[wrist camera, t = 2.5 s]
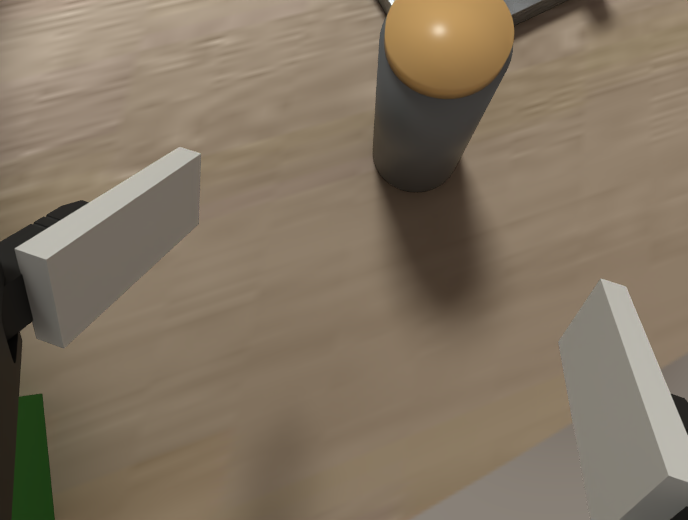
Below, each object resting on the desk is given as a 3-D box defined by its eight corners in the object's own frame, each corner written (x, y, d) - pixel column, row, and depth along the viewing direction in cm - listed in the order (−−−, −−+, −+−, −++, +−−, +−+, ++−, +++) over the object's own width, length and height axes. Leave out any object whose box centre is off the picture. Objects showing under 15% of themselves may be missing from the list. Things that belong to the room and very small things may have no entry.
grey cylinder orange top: (357, 134, 31) (356, 5, 20) (432, 98, 32) (475, -51, 20) (397, 206, 30) (421, 116, 18) (474, 168, 31) (545, 55, 19)
